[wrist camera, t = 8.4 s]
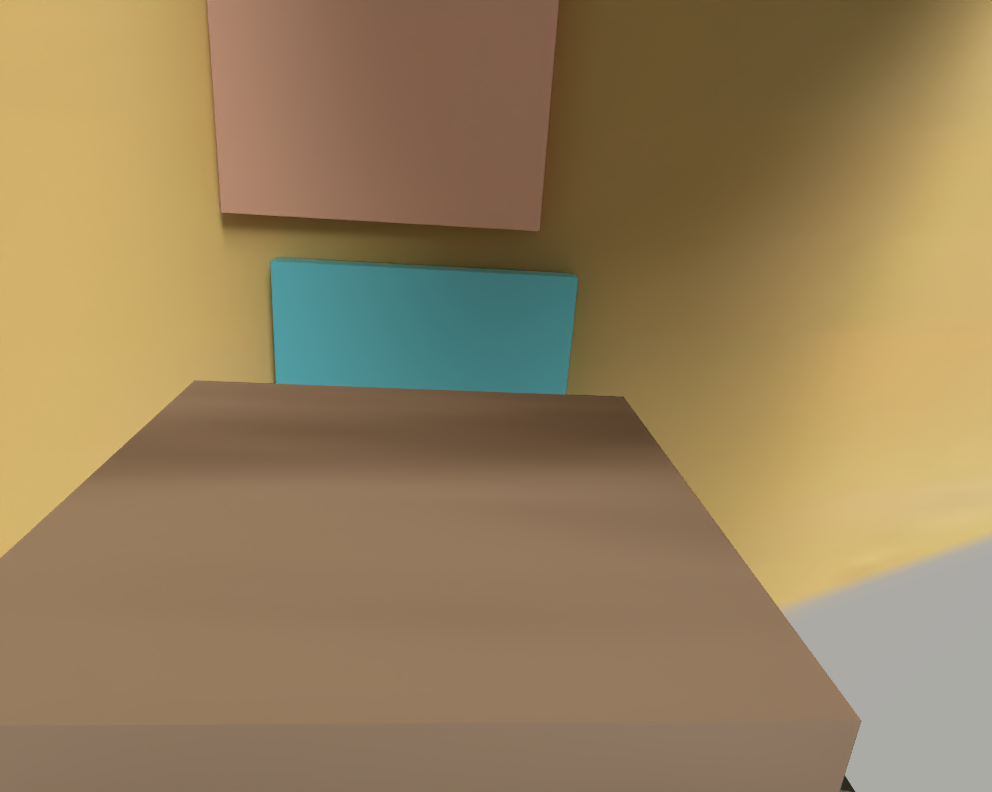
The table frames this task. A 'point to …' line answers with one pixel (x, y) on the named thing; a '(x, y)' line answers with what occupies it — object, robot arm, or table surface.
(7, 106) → the table surface
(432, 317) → the pad teal
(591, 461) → the cube
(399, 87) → the pad terracotta
